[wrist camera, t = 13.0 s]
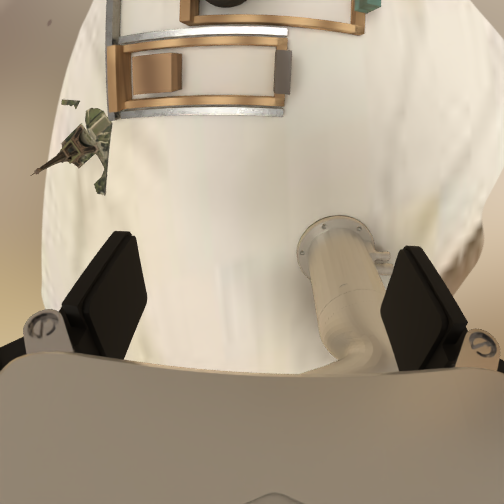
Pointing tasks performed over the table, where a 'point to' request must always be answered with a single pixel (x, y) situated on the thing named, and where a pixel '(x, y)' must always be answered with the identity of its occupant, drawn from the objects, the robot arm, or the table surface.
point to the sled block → (123, 95)
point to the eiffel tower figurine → (86, 143)
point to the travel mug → (225, 2)
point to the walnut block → (157, 73)
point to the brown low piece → (281, 18)
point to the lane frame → (115, 39)
